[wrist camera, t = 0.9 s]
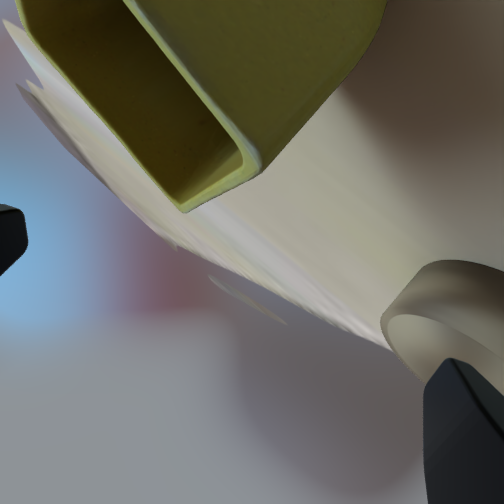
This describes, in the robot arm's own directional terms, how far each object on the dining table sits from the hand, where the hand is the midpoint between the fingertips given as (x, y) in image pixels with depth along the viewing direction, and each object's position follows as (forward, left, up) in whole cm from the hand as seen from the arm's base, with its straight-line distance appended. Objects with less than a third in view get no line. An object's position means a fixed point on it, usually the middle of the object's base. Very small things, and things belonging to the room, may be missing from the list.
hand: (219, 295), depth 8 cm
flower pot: (+6, -4, -12) cm, 14 cm away
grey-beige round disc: (+3, +15, -11) cm, 19 cm away
